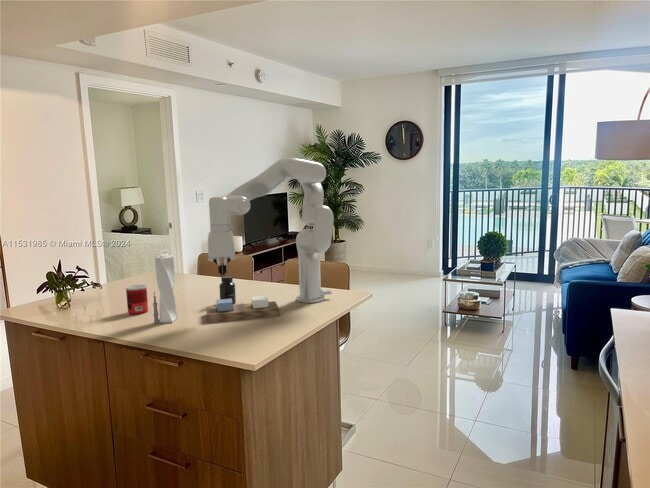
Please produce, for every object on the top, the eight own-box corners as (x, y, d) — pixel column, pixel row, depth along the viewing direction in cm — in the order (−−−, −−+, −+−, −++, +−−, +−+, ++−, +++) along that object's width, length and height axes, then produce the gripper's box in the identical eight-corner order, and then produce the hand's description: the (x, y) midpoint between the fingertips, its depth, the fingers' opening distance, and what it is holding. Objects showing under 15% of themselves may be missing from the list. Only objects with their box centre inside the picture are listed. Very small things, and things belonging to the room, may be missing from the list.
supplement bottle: (232, 306, 206) (230, 278, 205) (217, 305, 208) (216, 278, 206) (238, 301, 213) (237, 275, 211) (224, 301, 214) (222, 275, 213)
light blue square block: (232, 306, 194) (231, 298, 193) (232, 310, 188) (232, 302, 188) (216, 307, 192) (216, 299, 192) (217, 311, 187) (216, 303, 186)
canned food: (152, 310, 202) (150, 285, 201) (139, 315, 195) (137, 289, 193) (137, 309, 205) (135, 284, 203) (124, 314, 197) (121, 288, 196)
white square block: (266, 303, 197) (266, 295, 197) (268, 307, 191) (268, 299, 191) (251, 304, 196) (251, 297, 195) (253, 308, 190) (252, 300, 189)
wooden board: (275, 308, 201) (275, 301, 201) (279, 316, 190) (279, 308, 189) (207, 314, 195) (206, 307, 194) (207, 322, 183) (206, 315, 183)
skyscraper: (161, 318, 192) (156, 249, 188) (181, 317, 192) (176, 248, 188) (153, 324, 183) (148, 252, 179) (174, 324, 183) (169, 252, 179)
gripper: (239, 226, 191) (241, 272, 194) (200, 228, 187) (203, 274, 190) (240, 228, 184) (242, 275, 186) (200, 230, 180) (203, 278, 183)
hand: (222, 274), depth 188 cm, fingers closed
